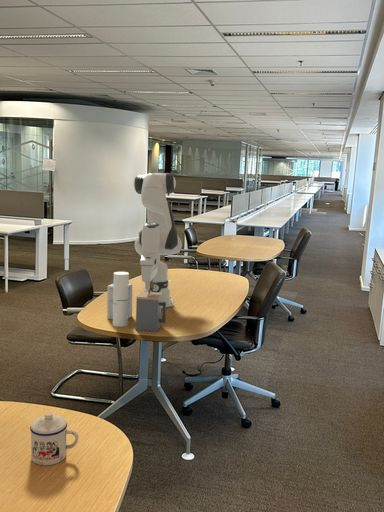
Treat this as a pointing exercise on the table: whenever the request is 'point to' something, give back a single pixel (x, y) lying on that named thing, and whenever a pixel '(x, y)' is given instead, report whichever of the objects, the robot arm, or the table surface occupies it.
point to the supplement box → (110, 301)
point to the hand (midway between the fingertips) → (149, 287)
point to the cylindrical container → (120, 299)
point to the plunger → (150, 287)
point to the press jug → (149, 311)
